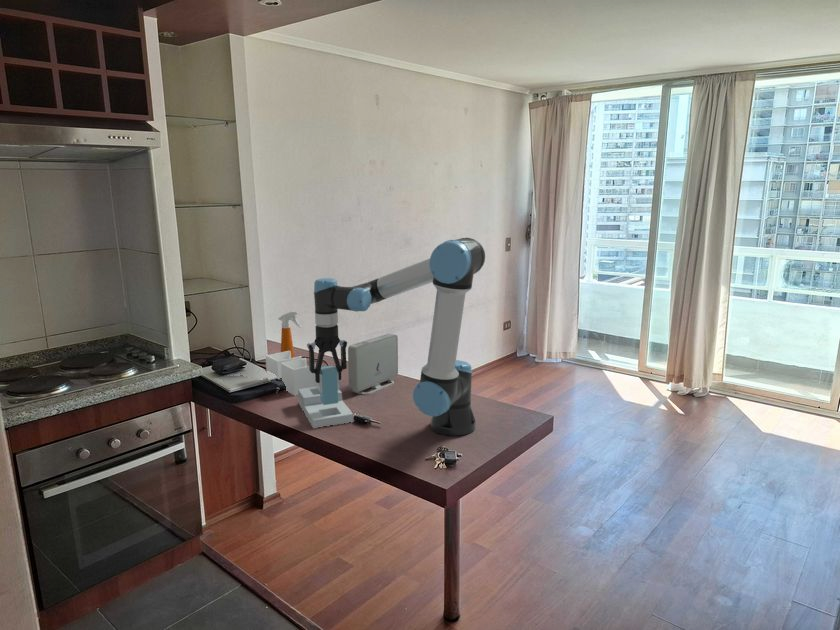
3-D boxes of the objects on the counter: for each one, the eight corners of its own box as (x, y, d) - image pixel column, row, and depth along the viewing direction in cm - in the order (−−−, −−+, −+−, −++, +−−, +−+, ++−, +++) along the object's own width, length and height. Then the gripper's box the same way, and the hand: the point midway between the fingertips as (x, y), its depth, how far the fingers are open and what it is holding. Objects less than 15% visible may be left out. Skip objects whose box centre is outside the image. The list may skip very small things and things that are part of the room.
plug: (338, 403, 194) (337, 369, 191) (323, 405, 192) (322, 371, 189) (333, 397, 200) (332, 364, 197) (319, 399, 198) (318, 366, 195)
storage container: (267, 380, 238) (265, 355, 236) (290, 374, 245) (289, 350, 243) (295, 396, 219) (293, 369, 217) (319, 390, 226) (318, 364, 224)
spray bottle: (301, 370, 250) (298, 312, 244) (277, 370, 251) (274, 312, 245) (305, 366, 257) (303, 309, 251) (282, 365, 258) (279, 309, 252)
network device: (360, 398, 217) (359, 348, 213) (344, 393, 222) (342, 344, 218) (402, 381, 237) (401, 335, 233) (386, 376, 242) (385, 331, 238)
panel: (353, 422, 195) (353, 405, 194) (313, 428, 189) (312, 411, 188) (335, 398, 216) (334, 384, 215) (298, 404, 211) (298, 389, 210)
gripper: (349, 320, 196) (350, 383, 201) (297, 324, 189) (300, 390, 194) (355, 324, 189) (357, 390, 194) (302, 329, 182) (305, 397, 187)
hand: (328, 390), depth 194 cm, fingers closed on plug, 5 cm apart
